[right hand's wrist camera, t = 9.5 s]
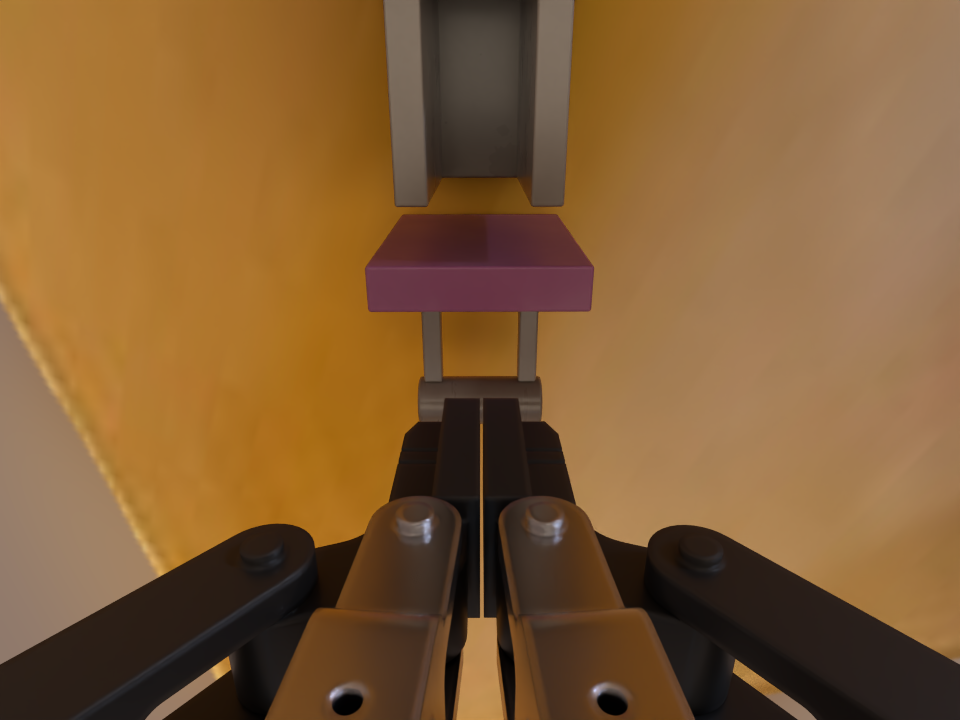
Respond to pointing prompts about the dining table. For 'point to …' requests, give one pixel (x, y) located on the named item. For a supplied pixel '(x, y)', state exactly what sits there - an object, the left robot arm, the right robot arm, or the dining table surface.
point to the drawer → (479, 154)
